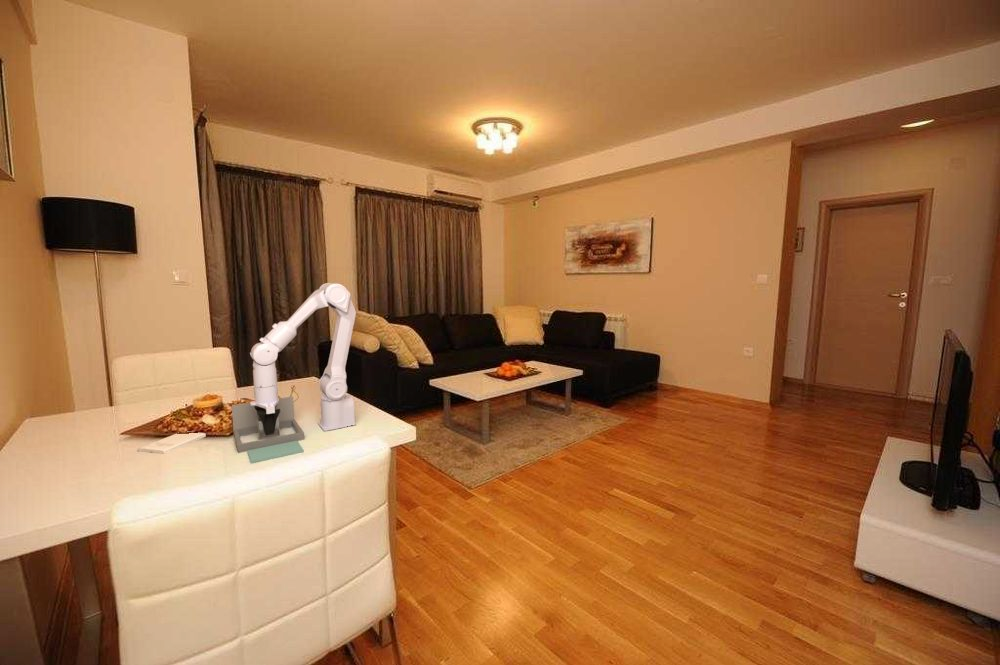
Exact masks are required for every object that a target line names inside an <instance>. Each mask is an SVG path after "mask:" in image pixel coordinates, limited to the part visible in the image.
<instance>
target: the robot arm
mask: <svg viewBox="0 0 1000 665" xmlns="http://www.w3.org/2000/svg"><path fill="white" fill-rule="evenodd" d="M351 295H352V294H351V292H350V291H349V290H348V289H347V288H346V287H345V286H344V285H343V284H340V283H331V282H325V283H323V284H321V286H319V288H318V289H316V290H314V291H313V292H312V293H311V294H310V295H309V296H308V297H307V299H306V300H305V301H304V302H303V303H302V304H301V305H300V306H299V307H298V308H297V309H296V311H294V313H293V314H292V315H291V316H290V317H289V318H288V320H286V321H279V322H278V323H273V325H272V326H271V327H272V329H271V330H270V331H269V332H268V333H267V334H265V336H264V337H260V338H259V341H260V342H257V343H255V344H254V345H253V346H252V348H251V350H250V352H249V354H250V357H251V358H252V360H253V361H252V362H253V363H252V368H253V370H252V377H253V389H254V390H253V393H254V400H255V401H252V402H250V405H251V406H253V405H256V406H254V408H255V409H256V411H257V414H258V416H259V417H260V419H261V421H262V424H263V428H264V432H265V434H266V435H269V434H274V431H275V426H276V421H277V417H278V415H279V413H280V409H275V408H276V406H277V403H278V402H279V399H278V396H279V394H278V392H279V391H278V390H279V389H278V375H277V374H278V373H277V367H276V361H277V359H278V356H279V354H278V353H280V352H282V350H284V349H285V347H286V346H287V345H289V343H290V342H291V341H292V340H293V339H294V338H295V337H296V336H297V329H298V328H299V327H300V326H301V325H302V324H303V323H304V322H305V321H306V320H308V318H309V317H311V315H312V314H314V312H315V311H317V310H319V309H323V308H326V307H330V308H331V309H332V311H333V312H334V313H335V315H336V316H337V317H336V321H335V328H334V332H333V337H332V341H331V342H332V343H331V348H330V353H329V357H328V362H327V365H326V367H325V369H324V371H323V374H322V376H321V377H320V379H319V381H318V388H319V390H320V391H321V392H322V394H321V395H320V414H321V415H320V416H321V421H319V422H317V424H318V426H319V427H320V428H321V429H322V430H323V432H326V431H332V430H333V431H334V430H336V429H337V430H338V429H342V428H347V426H348V427H352V426H351V425H353V426H356V425H357V423H356V419H355V418H356V415H355V413H356V412H355V400H354V397H353V396H352V395H350V394H347V392H348V385H347V372H346V365H347V360H348V355H349V351H350V350H349V349H350V345H351V340H352V334H353V330H354V325H355V320H356V316H357V315H356V314H357V311H356V309H355V306H354V303H353V299H352V296H351ZM346 394H347V395H346ZM355 424H356V425H355Z"/></svg>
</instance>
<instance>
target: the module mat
mask: <svg viewBox="0 0 1000 665" xmlns="http://www.w3.org/2000/svg"><path fill="white" fill-rule="evenodd" d="M246 452H247V455H248V458H249V462H250V464H254V463H260V462H264V461H268V460H273V459H278V458H283V457H286V456H291V455H296V454H300V453H304V449H303V447H302V445H301V444H300V442H299V441H292V442H287V443H283V444H278V445H273V446H268V447H263V448H258V449H253V450H248V451H246Z"/></svg>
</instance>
